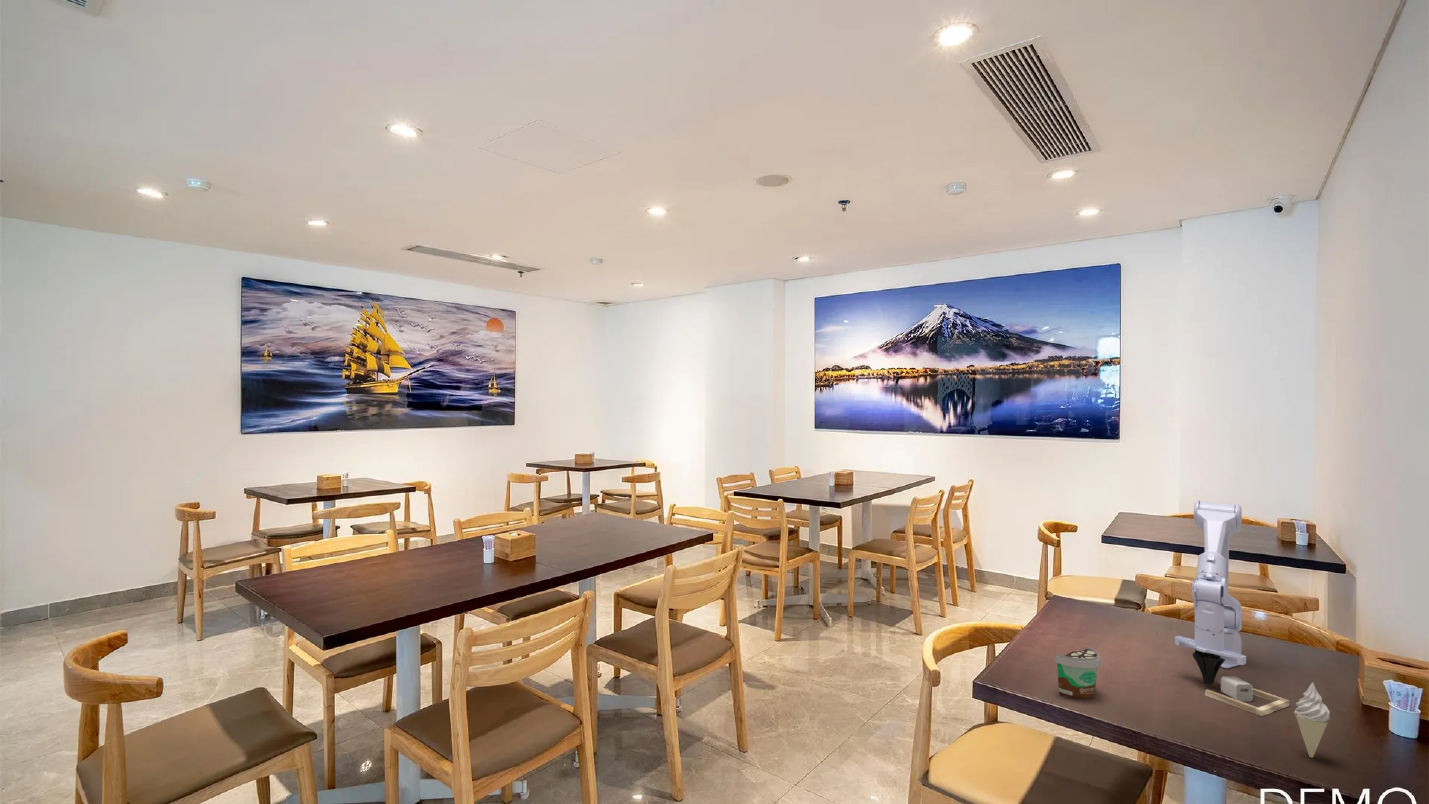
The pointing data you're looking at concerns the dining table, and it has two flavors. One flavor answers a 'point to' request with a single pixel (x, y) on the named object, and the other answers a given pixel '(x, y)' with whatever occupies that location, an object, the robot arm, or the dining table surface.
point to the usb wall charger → (1236, 688)
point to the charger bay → (1261, 711)
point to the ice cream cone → (1312, 718)
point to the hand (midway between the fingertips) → (1208, 683)
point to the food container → (1078, 673)
